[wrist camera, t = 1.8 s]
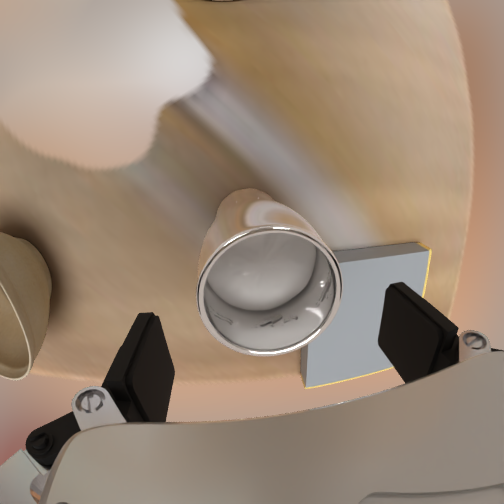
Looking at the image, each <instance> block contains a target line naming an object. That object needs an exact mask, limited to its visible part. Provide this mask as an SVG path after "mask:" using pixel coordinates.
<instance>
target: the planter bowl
mask: <svg viewBox="0 0 504 504" xmlns="http://www.w3.org/2000/svg"><path fill="white" fill-rule="evenodd" d="M51 292H52V283H51V276H50V272H49V269H48V267H47V264H46V262H45V260H44V259H43V257H42V255H41V254H40V252H39V251H38V250H37V249H36V248H35V247H34V246H33V245H32V244H31V243H30V242H28V241H26V240H24V239H21V238H14V237H12V236H10V235H8V234H5V233H2V232H0V376H1V377H3V378H6V379H9V380H21V379H23V378H25V377H26V376H27V375H28V374H29V372H30V370H31V368H32V366H33V363H34V360H35V358H36V356H37V355H38V353H39V351H40V349H41V346H42V344H43V341H44V338H45V335H46V331H47V326H48V320H49V305H50V304H49V300H50V297H51Z"/></svg>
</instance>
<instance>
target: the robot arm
mask: <svg viewBox="0 0 504 504" xmlns="http://www.w3.org/2000/svg"><path fill="white" fill-rule="evenodd" d="M214 1H231V0H214ZM457 331H458V327H457V326H456V325H455V324H454V323H452V322H451V321H450V320H449V319H448V318H447V317H445V316H444V315H443V314H442V313H441V312H439V311H438V310H437V309H436V308H435V307H433V306H432V305H431V304H430V303H429V302H427V301H426V300H425V299H424V298H422V297H421V296H420V295H419V294H417V293H416V292H415V291H414V290H412V289H411V288H410V287H409V286H407V285H406V284H405V283H404V282H397V283H392V284H390V285H389V287H388V288H386V291H385V298H384V305H383V311H382V318H381V324H380V329H379V335H378V345H379V347H380V349H381V350H382V351H383V353H384V354H385V355H386V357H387V358H388V360H389V361H390V362H391V364H392V365H393V366H394V368H395V369H396V370H397V372H398V373H399V375H400V376H401V378H402V379H403V380H404V382H405V384H403V385H400V386H397V387H394V388H391V389H387V390H384V391H381V392H378V393H374V394H371V395H368V396H364V397H360V398H357V399H353V400H349V401H345V402H341V403H337V404H332V405H328V406H323V407H319V408H314V409H308V410H303V411H297V412H292V413H285V414H279V415H272V416H264V417H256V418H247V419H237V420H223V421H203V422H166V417H167V411H168V406H169V401H170V395H171V390H172V385H173V380H174V375H175V370H174V366H173V363H172V359H171V356H170V353H169V350H168V346H167V343H166V340H165V336H164V333H163V329H162V326H161V322H160V319H159V316H155V315H154V313H153V312H150V313H139V314H138V316H137V318H136V319H135V321H134V323H133V325H132V327H131V329H130V331H129V333H128V335H127V337H126V339H125V341H124V343H123V345H122V346H121V347H120V349H119V351H118V353H117V355H116V357H115V359H114V361H113V363H112V365H111V367H110V369H109V371H108V373H107V375H106V377H105V380H104V382H103V384H102V386H101V387H98V386H91V387H87V388H84V389H82V390H80V391H79V392H78V393H77V394H76V395H75V396H74V398H73V400H72V410H73V411H72V412H70V413H68V414H66V415H64V416H62V417H60V418H58V419H56V420H54V421H52V422H50V423H48V424H46V425H44V426H42V427H40V428H37V429H36V430H34V431H32V432H31V434H30V435H29V436H28V438H27V440H26V450H25V451H23V450H22V449H20V450H19V451H18V452H16V453H15V454H14V455H13V456H12V457H11V458H9V459H8V460H7V461H6V462H5V463H3V464H2V465H1V466H0V504H504V351H503V350H498V349H493V348H491V346H490V342H489V339H488V338H487V337H486V336H485V335H484V334H482V333H480V332H478V331H474V330H467V331H464V332H462V333H461V334H460V336H459V337H458V335H457Z"/></svg>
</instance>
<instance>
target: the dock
mask: <svg viewBox="0 0 504 504" xmlns="http://www.w3.org/2000/svg"><path fill="white" fill-rule="evenodd" d="M431 252H432V249H430V248H429V247H427V246H425V245H423V244H421V243H415V242H412V243H404V244H395V245H387V246H378V247H369V248H361V249H352V250H343V251H334V252H333V254H334V255H335V257H336V259H337V261H338V263H339V265H340V268H341V272H342V277H343V293H342V299H341V303H340V306H339V308H338V311H337V313H336V315H335V317H334V318H333V320H332V322H331V323H330V324H329V326H328V327H327V328H326V329H325V330H324V331H323V332H322V333H321V334H320V335H319V336H318V337H317V338H316V339H314V340H313V341H312V342H310V343H309V344H307V345H305V346H303V347H301V378H302V381H303V384H304V388H305V389H309V388H314V387H319V386H325V385H329V384H334V383H339V382H342V381H347V380H351V379H355V378H359V377H363V376H367V375H370V374H374V373H378V372H381V371H385V370H388V369H391V368H394V366H393V365H392V364H391V362H390V361H389V360H388V358H387V357H386V355H385V354H384V353H383V351H382V350H381V349H380V347H379V345H378V335H379V329H380V324H381V318H382V311H383V305H384V298H385V291H386V288H388V287H389V285H390V284H392V283H397V282H404V283H405V284H406V285H407V286H409V287H410V288H411V289H412V290H414V291H415V292H416V293H417V294H419V295H420V296H421V297H422V298H424V293H425V288H426V283H427V277H428V271H429V265H430V259H431Z"/></svg>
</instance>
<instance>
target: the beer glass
mask: <svg viewBox="0 0 504 504" xmlns="http://www.w3.org/2000/svg"><path fill="white" fill-rule="evenodd" d="M342 293H343V277H342V272H341V268H340V265H339V263H338V261H337V259H336V257H335V255H334V254H333V252H332V251H331V249H330V248H329V247H328V246H327V245H326V244H325V243H324V241H323V240H322V238H321V237H320V236H319V234H318V233H317V232H316V231H315V229H314V228H313V227H312V226H311V225H310V224H309V223H308V222H307V221H306V220H305V219H304V218H303V217H302V216H301V215H299V214H298V213H297V212H295V211H294V210H292V209H291V208H289V207H288V206H286V205H284V204H281V203H279V202H275V201H274V200H273V198H272V197H271V196H269V195H268V194H267V193H265V192H263V191H261V190H258V189H253V188H245V189H240V190H237V191H234V192H232V193H231V194H229V195H228V196H227V197H226V198H225V199H224V200H223V201H222V202H221V204H220V205H219V207H218V209H217V212H216V218H215V221H214V222H213V223H212V225H211V226H210V228H209V230H208V231H207V234H206V236H205V239H204V241H203V244H202V247H201V251H200V257H199V262H198V276H197V287H196V303H197V309H198V312H199V315H200V318H201V320H202V322H203V324H204V325H205V327H206V329H207V330H208V331H209V332H210V334H211V335H212V336H213V337H214V338H215V339H217V340H218V341H219V342H220V343H222V344H223V345H225V346H226V347H228V348H230V349H232V350H235V351H237V352H240V353H243V354H247V355H253V356H276V355H281V354H286V353H289V352H292V351H295V350H297V349H299V348H301V347H303V346H305V345H307V344H309V343H310V342H312V341H313V340H314V339H316V338H317V337H318V336H319V335H320V334H321V333H322V332H323V331H324V330H325V329H326V328H327V327H328V326H329V324H330V323H331V322H332V320H333V318H334V317H335V315H336V313H337V311H338V308H339V306H340V303H341V299H342Z"/></svg>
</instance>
